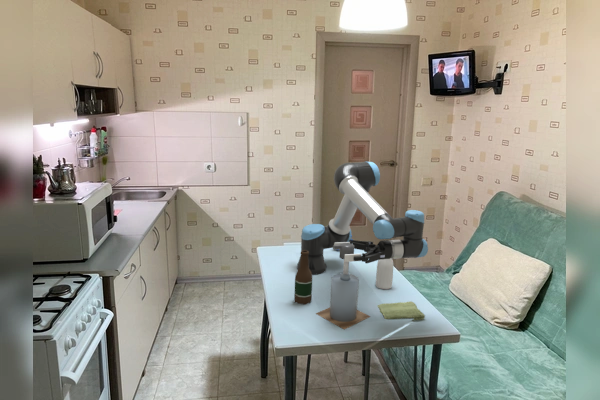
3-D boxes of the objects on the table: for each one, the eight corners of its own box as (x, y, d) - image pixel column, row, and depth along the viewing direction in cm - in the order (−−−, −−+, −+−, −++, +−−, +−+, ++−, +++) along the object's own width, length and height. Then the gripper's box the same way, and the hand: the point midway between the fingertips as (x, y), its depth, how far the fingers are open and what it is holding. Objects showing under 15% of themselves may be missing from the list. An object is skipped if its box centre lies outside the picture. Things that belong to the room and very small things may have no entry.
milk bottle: (391, 290, 200) (395, 250, 196) (375, 288, 202) (378, 249, 197) (391, 283, 208) (395, 245, 203) (375, 282, 209) (378, 243, 204)
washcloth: (374, 308, 184) (375, 301, 183) (413, 306, 186) (414, 299, 186) (385, 323, 171) (385, 316, 170) (426, 321, 174) (427, 314, 173)
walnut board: (315, 316, 174) (315, 313, 174) (341, 304, 185) (341, 302, 185) (344, 332, 163) (344, 329, 163) (370, 319, 174) (370, 316, 173)
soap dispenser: (324, 313, 174) (326, 273, 170) (342, 305, 181) (344, 266, 177) (343, 324, 166) (346, 282, 162) (362, 316, 173) (364, 275, 169)
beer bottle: (305, 308, 180) (307, 255, 175) (290, 303, 184) (292, 251, 179) (314, 301, 187) (317, 250, 181) (300, 297, 191) (301, 246, 185)
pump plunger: (330, 274, 168) (332, 245, 166) (344, 269, 174) (345, 241, 171) (342, 279, 164) (343, 249, 161) (355, 274, 169) (357, 245, 166)
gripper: (402, 270, 160) (348, 273, 156) (377, 247, 184) (330, 249, 179) (404, 251, 158) (350, 254, 154) (378, 231, 182) (331, 232, 178)
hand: (339, 251), depth 167 cm, fingers open, 13 cm apart
